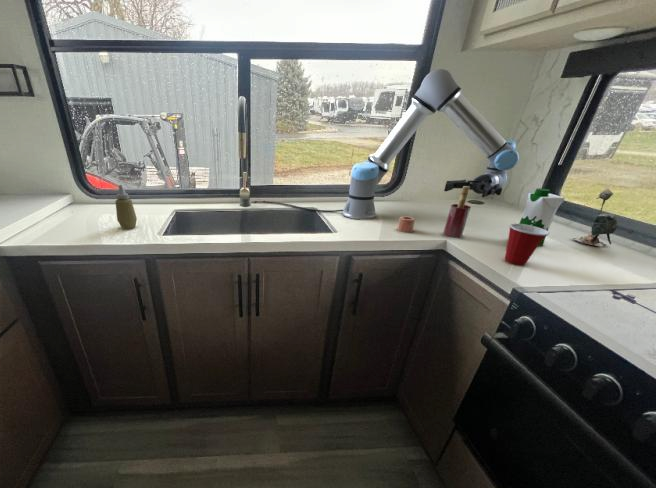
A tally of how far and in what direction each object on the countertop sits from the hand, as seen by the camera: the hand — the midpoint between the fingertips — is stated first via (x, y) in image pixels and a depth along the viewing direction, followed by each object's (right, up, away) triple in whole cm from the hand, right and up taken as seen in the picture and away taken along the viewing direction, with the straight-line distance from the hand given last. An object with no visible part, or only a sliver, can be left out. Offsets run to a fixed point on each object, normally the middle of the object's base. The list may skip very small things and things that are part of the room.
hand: (464, 190), depth 128 cm
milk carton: (+26, -20, +2) cm, 32 cm away
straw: (+1, -15, +9) cm, 18 cm away
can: (+1, -15, +9) cm, 18 cm away
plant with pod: (+49, -21, 0) cm, 53 cm away
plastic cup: (+8, -29, -14) cm, 33 cm away
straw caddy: (-16, -12, +15) cm, 25 cm away
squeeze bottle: (-136, -10, +21) cm, 138 cm away
